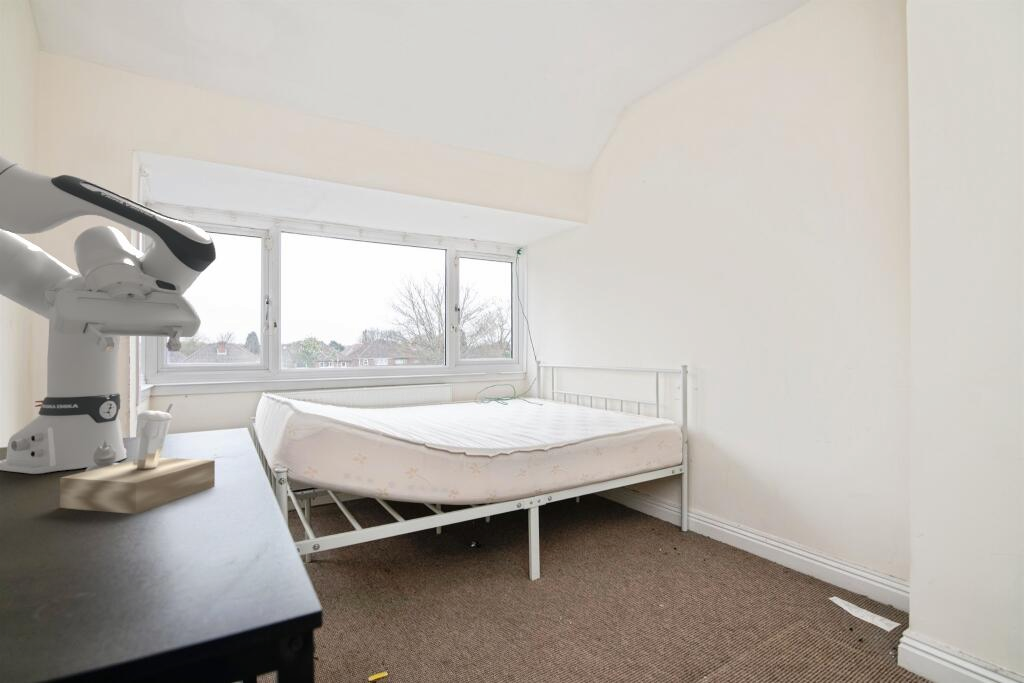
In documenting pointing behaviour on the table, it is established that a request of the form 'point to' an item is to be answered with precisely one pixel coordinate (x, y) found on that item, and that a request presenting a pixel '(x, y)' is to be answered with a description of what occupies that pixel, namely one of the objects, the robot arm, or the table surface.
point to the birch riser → (136, 485)
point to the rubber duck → (103, 457)
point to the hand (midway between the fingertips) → (143, 348)
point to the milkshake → (150, 437)
